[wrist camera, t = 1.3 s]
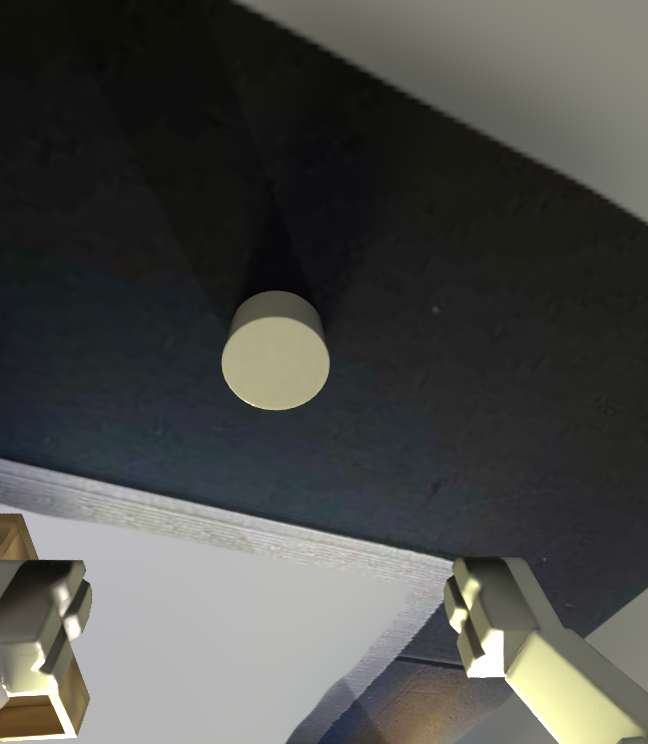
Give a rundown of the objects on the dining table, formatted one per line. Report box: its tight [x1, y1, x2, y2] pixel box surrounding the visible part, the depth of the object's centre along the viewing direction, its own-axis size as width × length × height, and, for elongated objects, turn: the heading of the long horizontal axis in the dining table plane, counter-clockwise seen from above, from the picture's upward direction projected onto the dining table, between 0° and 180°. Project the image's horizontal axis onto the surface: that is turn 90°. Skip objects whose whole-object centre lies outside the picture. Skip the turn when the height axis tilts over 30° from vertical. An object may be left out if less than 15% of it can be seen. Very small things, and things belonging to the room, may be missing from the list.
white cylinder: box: [222, 291, 330, 410], centre depth 18 cm, size 4×4×3 cm
